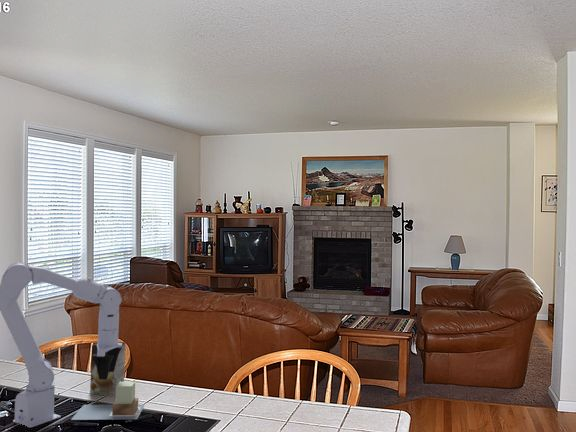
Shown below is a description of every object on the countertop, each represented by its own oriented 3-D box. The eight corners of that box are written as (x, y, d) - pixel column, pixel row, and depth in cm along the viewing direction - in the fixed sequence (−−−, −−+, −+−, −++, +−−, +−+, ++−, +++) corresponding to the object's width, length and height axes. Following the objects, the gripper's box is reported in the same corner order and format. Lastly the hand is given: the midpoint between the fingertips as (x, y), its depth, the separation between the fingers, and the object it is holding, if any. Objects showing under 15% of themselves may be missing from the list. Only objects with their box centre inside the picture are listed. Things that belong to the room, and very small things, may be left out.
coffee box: (88, 395, 166) (90, 344, 166) (98, 389, 173) (99, 340, 173) (116, 396, 165) (117, 346, 166) (124, 390, 172) (126, 341, 172)
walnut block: (112, 415, 148) (112, 404, 148) (117, 408, 154) (117, 397, 154) (133, 415, 149) (134, 404, 149) (138, 407, 155) (138, 397, 155)
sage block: (115, 403, 149) (115, 386, 149) (119, 398, 153) (119, 381, 154) (131, 403, 149) (131, 386, 149) (134, 398, 154) (135, 381, 154)
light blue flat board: (70, 421, 144) (70, 419, 144) (83, 406, 156) (83, 404, 156) (136, 420, 146) (137, 418, 146) (145, 405, 158) (145, 404, 158)
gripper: (115, 334, 147) (114, 382, 146) (128, 324, 161) (126, 368, 161) (90, 333, 146) (88, 382, 146) (104, 324, 161) (103, 368, 160)
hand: (106, 375), depth 153 cm, fingers open, 7 cm apart
